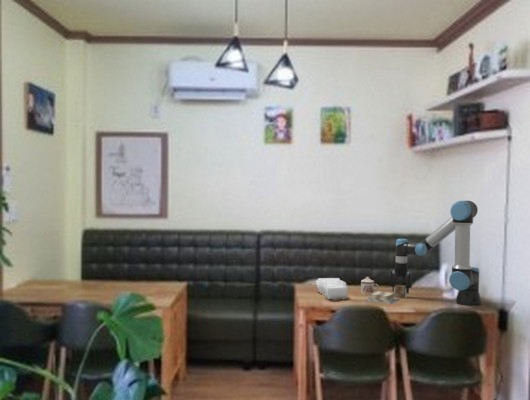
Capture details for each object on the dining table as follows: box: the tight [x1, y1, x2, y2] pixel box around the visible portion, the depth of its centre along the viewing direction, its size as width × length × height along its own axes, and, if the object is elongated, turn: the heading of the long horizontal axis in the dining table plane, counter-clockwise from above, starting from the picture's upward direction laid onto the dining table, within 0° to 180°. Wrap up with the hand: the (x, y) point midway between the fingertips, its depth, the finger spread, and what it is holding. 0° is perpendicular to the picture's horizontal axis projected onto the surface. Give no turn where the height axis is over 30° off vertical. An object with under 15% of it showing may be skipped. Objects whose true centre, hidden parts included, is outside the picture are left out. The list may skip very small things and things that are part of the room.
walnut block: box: [395, 284, 406, 299], centre depth 361 cm, size 6×6×8 cm
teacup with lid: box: [360, 276, 380, 296], centre depth 371 cm, size 12×9×12 cm
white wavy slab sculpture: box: [315, 277, 349, 300], centre depth 363 cm, size 35×16×10 cm, turn 5°
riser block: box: [369, 290, 396, 304], centre depth 351 cm, size 12×12×4 cm
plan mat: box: [364, 297, 401, 304], centre depth 351 cm, size 18×16×1 cm
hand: (400, 297), depth 361 cm, fingers open, 7 cm apart
